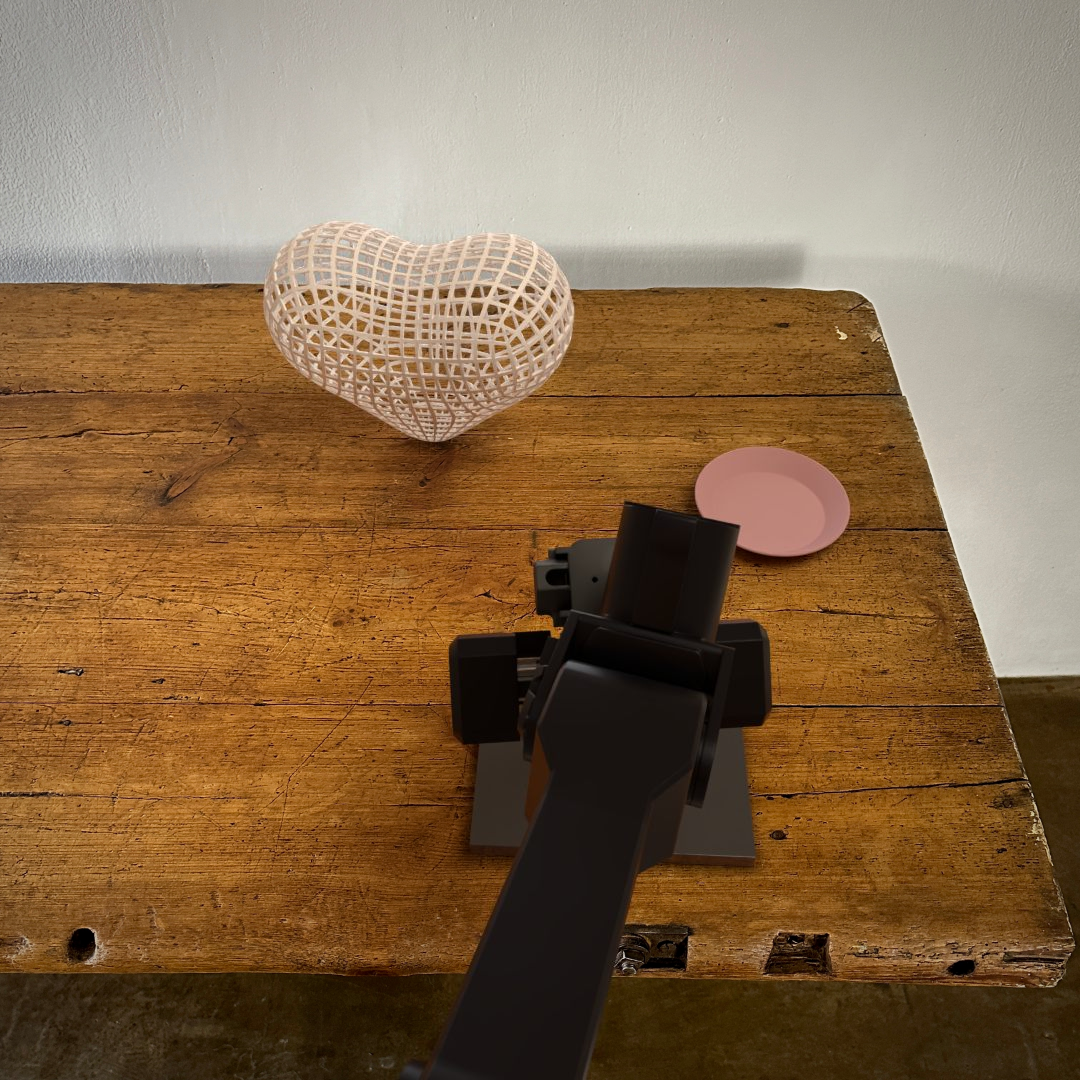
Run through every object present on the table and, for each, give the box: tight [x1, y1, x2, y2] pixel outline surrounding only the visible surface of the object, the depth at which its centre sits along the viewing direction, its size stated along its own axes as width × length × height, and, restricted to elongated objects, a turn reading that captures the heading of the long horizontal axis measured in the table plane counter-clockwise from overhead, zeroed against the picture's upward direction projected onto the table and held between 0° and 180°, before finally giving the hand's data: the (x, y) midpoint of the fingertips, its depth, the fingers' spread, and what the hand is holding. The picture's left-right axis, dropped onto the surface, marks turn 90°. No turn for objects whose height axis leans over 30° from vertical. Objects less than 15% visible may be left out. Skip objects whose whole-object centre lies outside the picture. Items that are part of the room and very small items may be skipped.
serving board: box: [468, 727, 757, 867], centre depth 73 cm, size 14×20×2 cm
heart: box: [262, 220, 575, 443], centre depth 91 cm, size 28×16×22 cm, turn 82°
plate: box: [694, 446, 851, 558], centre depth 91 cm, size 14×14×2 cm
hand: (593, 658), depth 66 cm, fingers closed on ice cream cone, 5 cm apart
